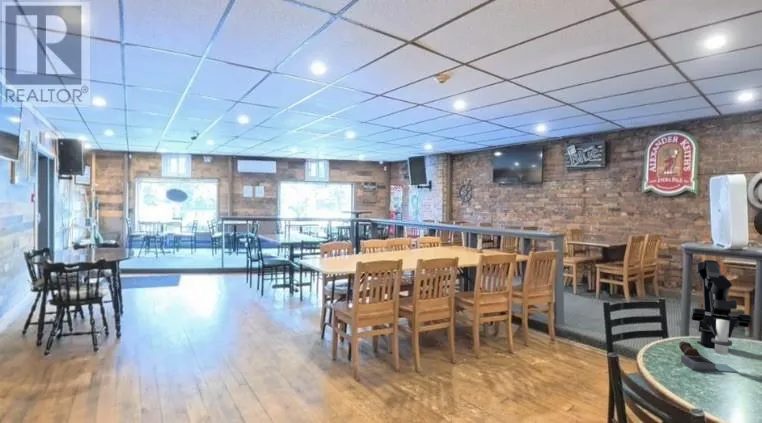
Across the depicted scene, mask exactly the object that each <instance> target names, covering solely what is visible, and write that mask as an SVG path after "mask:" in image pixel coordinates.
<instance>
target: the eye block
mask: <svg viewBox="0 0 762 423" xmlns="http://www.w3.org/2000/svg"><path fill="white" fill-rule="evenodd" d="M680 363H681V364H683V365H684V366H686V367H687V368H688V369H690V370H691V371H693V372H695V371H696V372H697V371H698V372H714V373H715V372H716V370H715V364H716V363H715V362H713V361H710V360H709V359H708V358H706V357H705V356H702V355H701V356H688V355H684V354H681V355H680Z"/></svg>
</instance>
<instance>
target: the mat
mask: <svg viewBox="0 0 762 423" xmlns="http://www.w3.org/2000/svg"><path fill="white" fill-rule="evenodd" d="M714 364H715V371H717V372H720V373H721V372H722V373H739V371H738V370H736V369H735V368H733V367H731V366H729V365H728V364H726V363H714Z"/></svg>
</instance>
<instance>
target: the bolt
mask: <svg viewBox="0 0 762 423" xmlns="http://www.w3.org/2000/svg"><path fill="white" fill-rule="evenodd" d="M678 347H679V350H680V351H681V352H682V353H683V355H688V356H702V355H701V353H700V352H699V350H698V349H697V348H693V346H692V344H691V343H690V342H688V341H683V340H682V341H680V342H679V346H678Z"/></svg>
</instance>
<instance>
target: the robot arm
mask: <svg viewBox="0 0 762 423" xmlns="http://www.w3.org/2000/svg"><path fill="white" fill-rule="evenodd" d="M695 270H696V274H697V278H698V279H699V280H700V281H701V283H702V297H703V298H702V301H703V308H697V307H694V308H692V310H691V314H690V315H691V318H690V319H691V321H695V322H697V324H696V326H697V327H696V329H697V331H698V332H699V333H700V341H699V340H697V341H696V343H697V344H699V345H701V346H702V347H704V348H714V349H715V343H713V342H712V341H711V339H712V338H715V336H716V319H722V320H727V321H729V337H728V339H730V338H731V336H732V334H733V331H734V329H735V328H739V327H740V328H741V327H743V328H750V326H751V325H752V323H753V317H752V315H750V314H748V313H747V314H746V313H738V314H737V315H736V316H734V315H730V314H731V313H732V312H731V311H732V310H737V308H738V304H737V300H734V299H733V300H728V295H729V293H730V290H731V288H732V287H733V286H732V285H733V284H732V282H731V281H730V280H729V279H728V278H727V277H726V275H724V274H722V273H721V266H720V264H719V263H718V261H717V260H711V259H704V260H703V261H700V262H697V264H696V268H695Z"/></svg>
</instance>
